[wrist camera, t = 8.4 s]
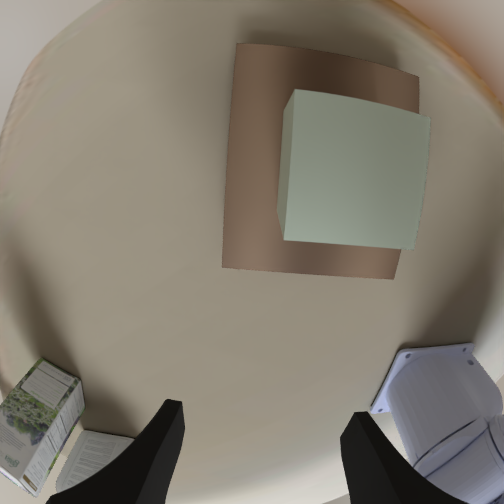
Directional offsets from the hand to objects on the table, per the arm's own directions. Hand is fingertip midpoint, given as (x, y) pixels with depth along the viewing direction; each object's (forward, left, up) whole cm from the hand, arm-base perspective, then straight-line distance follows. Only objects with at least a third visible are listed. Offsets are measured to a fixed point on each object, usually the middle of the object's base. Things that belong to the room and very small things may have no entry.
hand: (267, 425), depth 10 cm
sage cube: (-2, -10, -7) cm, 12 cm away
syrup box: (+21, +13, -10) cm, 26 cm away
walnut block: (-2, -10, -10) cm, 14 cm away
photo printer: (+17, +23, -10) cm, 30 cm away
